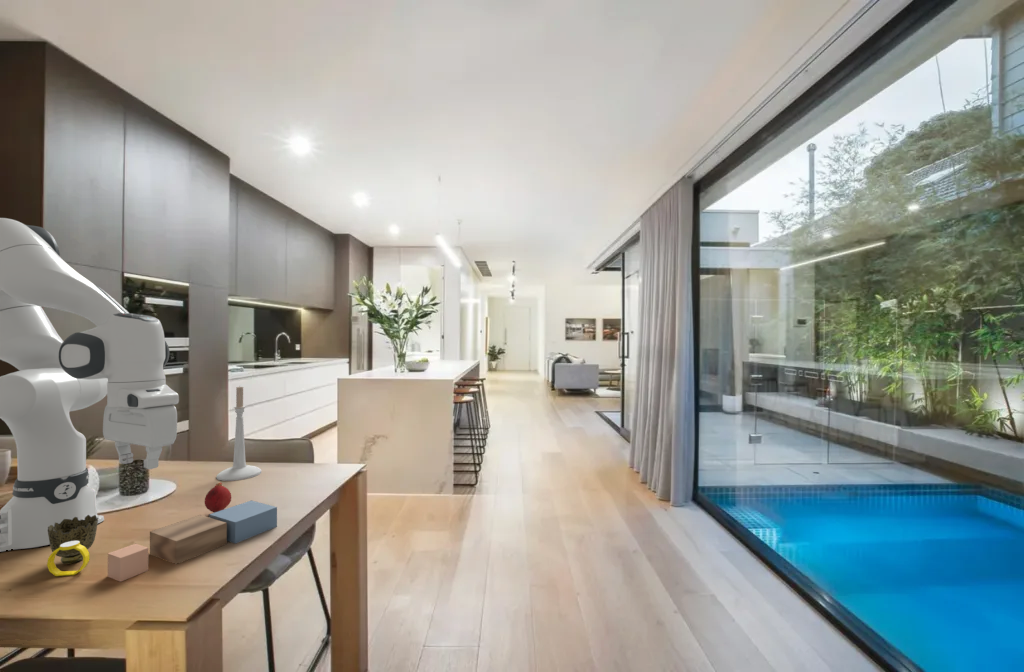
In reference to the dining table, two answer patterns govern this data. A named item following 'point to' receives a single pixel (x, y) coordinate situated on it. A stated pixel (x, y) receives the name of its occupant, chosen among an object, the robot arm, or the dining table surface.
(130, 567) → the terracotta cube
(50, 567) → the watch
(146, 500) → the dining table surface
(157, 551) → the walnut block
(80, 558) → the cup
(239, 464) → the candlestick
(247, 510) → the slate-blue block
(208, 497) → the onion
